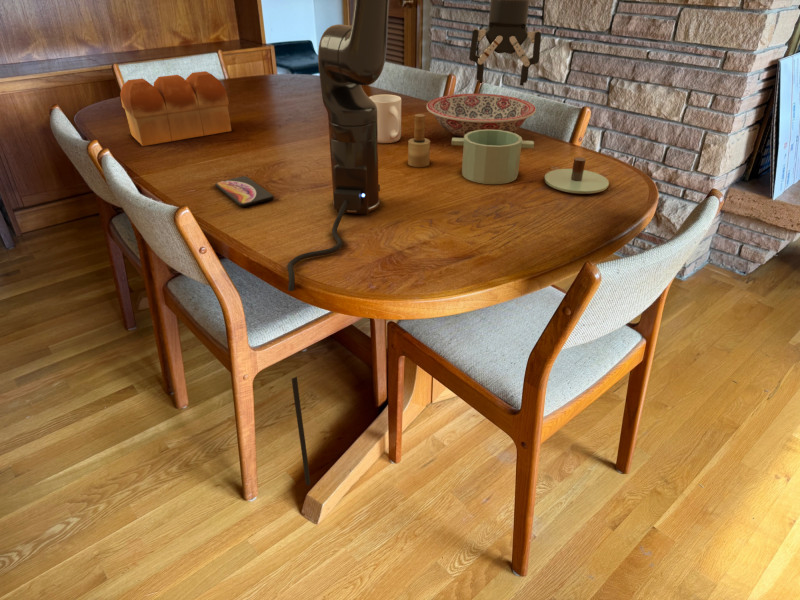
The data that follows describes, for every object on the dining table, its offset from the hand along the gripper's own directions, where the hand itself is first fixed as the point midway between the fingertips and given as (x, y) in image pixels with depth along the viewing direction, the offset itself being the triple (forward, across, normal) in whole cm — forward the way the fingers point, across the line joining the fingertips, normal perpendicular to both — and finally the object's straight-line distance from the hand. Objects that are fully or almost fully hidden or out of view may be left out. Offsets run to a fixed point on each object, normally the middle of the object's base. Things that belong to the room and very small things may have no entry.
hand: (501, 83), depth 121 cm
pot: (+20, 0, 0) cm, 20 cm away
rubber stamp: (+20, -18, +5) cm, 27 cm away
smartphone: (+21, -52, -20) cm, 59 cm away
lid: (+19, +18, -3) cm, 27 cm away
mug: (+20, -28, +22) cm, 41 cm away
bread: (+21, -86, +19) cm, 91 cm away
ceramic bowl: (+20, -4, +30) cm, 36 cm away
